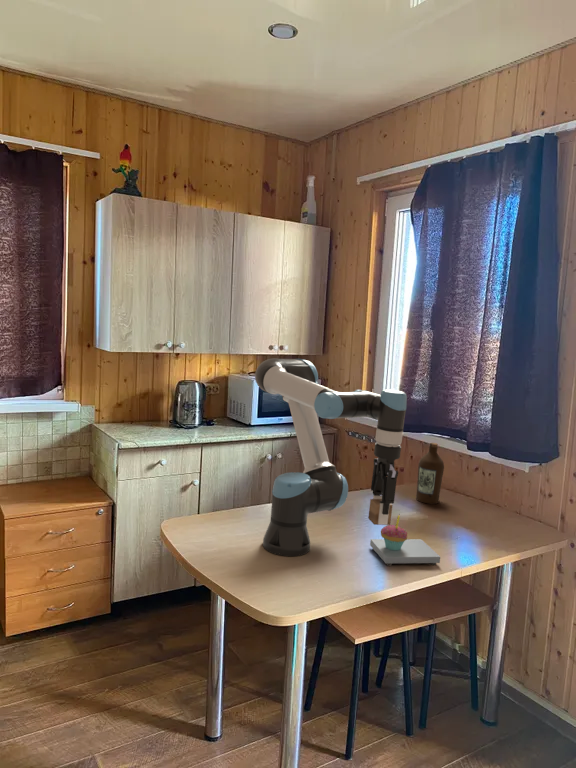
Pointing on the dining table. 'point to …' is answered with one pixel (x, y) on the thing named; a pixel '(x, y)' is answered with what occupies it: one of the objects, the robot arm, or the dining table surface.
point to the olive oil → (430, 476)
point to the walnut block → (377, 511)
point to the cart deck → (406, 552)
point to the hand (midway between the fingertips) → (379, 520)
